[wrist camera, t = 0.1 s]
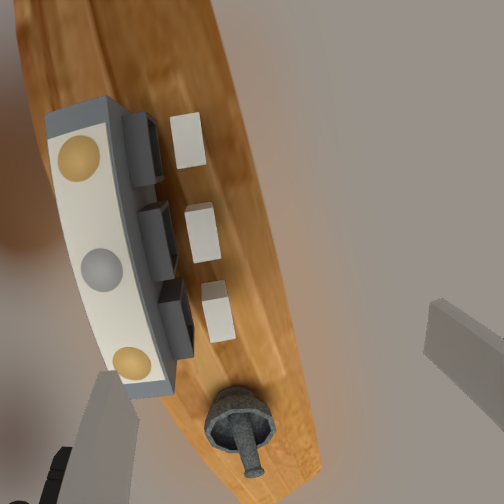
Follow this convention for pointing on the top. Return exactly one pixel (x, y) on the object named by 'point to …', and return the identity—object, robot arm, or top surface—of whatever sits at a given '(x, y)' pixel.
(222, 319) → the button
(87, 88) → the top surface
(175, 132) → the button
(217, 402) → the mortar and pestle
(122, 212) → the button panel
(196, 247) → the button middle
